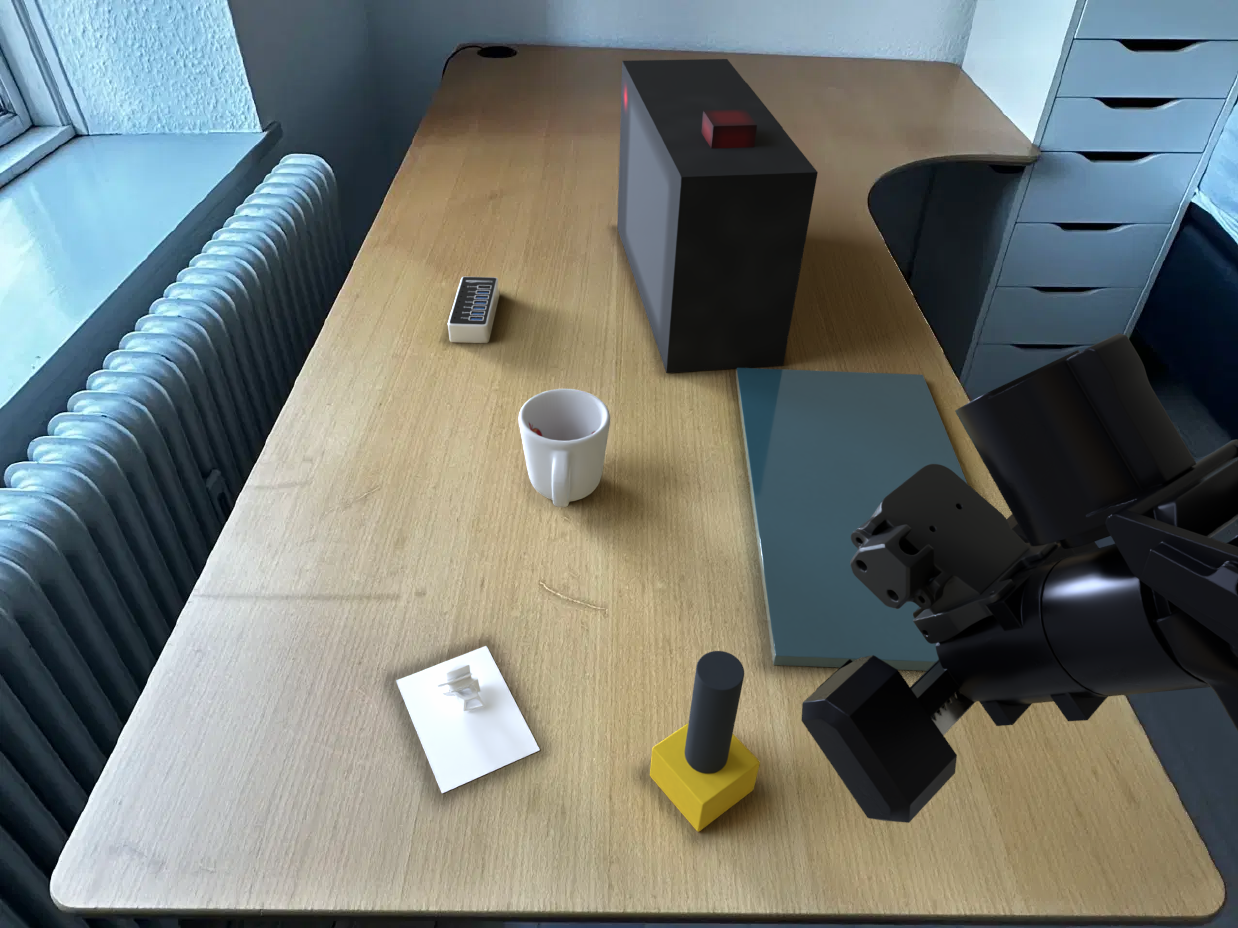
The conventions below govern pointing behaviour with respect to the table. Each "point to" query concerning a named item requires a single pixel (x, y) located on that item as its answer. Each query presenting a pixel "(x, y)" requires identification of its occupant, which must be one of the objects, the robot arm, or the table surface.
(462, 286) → the multiport hub
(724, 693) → the sponge wand
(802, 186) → the speaker
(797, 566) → the plate
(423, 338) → the table surface
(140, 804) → the table surface
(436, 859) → the table surface
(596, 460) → the cup
